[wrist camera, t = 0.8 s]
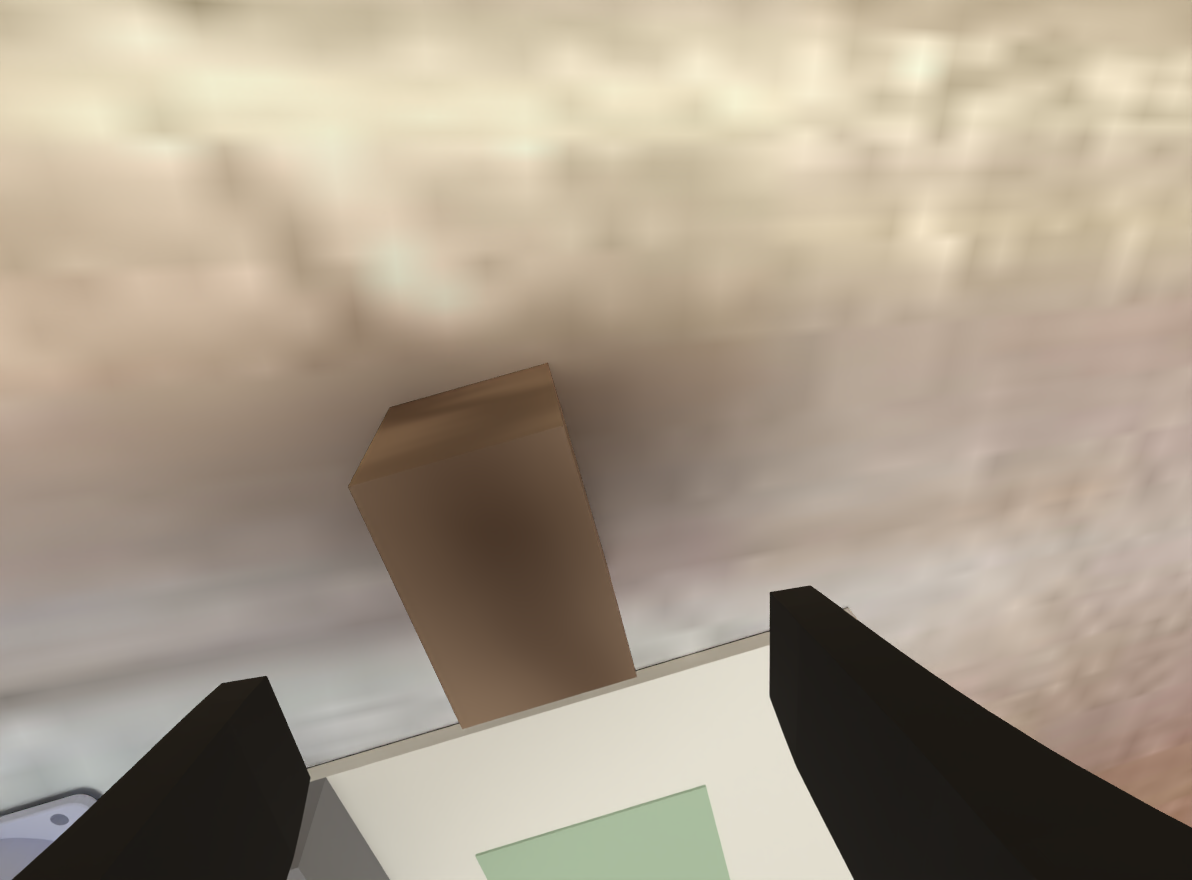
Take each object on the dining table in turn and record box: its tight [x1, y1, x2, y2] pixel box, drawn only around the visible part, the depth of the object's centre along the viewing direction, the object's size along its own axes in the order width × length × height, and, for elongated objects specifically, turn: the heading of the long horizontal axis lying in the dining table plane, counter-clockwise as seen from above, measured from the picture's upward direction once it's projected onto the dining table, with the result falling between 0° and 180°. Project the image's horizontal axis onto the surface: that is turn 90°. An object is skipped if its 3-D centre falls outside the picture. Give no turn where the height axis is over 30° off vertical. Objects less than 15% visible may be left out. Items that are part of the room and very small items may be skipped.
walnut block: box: [348, 363, 637, 729], centre depth 16 cm, size 4×7×5 cm, turn 14°
